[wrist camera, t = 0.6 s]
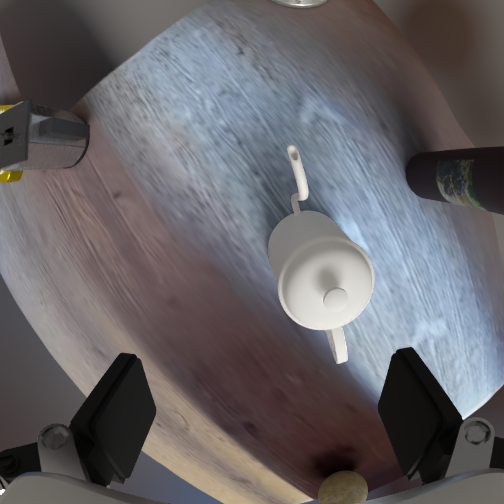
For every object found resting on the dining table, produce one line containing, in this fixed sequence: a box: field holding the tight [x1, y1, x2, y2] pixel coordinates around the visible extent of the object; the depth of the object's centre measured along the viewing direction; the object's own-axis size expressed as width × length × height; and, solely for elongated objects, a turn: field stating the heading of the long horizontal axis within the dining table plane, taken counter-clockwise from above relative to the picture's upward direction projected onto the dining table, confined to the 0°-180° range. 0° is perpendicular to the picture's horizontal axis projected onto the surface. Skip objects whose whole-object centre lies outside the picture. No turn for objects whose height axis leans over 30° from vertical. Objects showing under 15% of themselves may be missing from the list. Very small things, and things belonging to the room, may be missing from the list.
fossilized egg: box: [318, 471, 368, 504], centre depth 48 cm, size 13×13×15 cm
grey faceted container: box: [0, 99, 90, 172], centre depth 30 cm, size 9×12×15 cm
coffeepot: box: [268, 144, 375, 364], centre depth 31 cm, size 11×25×19 cm, turn 18°
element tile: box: [0, 105, 23, 183], centre depth 35 cm, size 15×15×5 cm
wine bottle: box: [406, 146, 504, 215], centre depth 22 cm, size 7×7×30 cm
